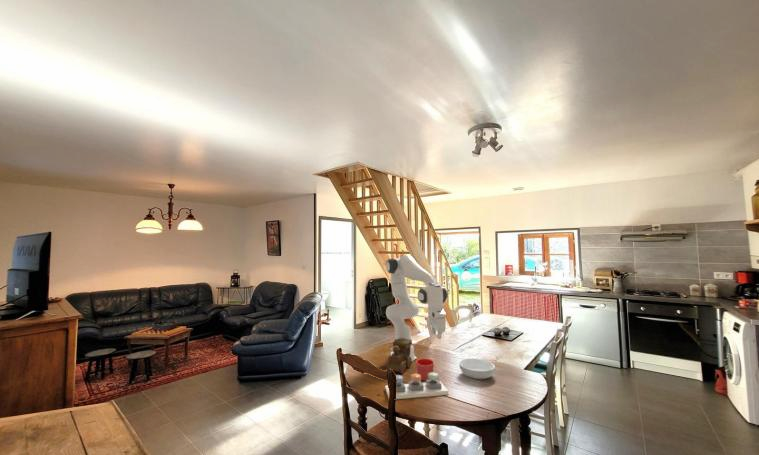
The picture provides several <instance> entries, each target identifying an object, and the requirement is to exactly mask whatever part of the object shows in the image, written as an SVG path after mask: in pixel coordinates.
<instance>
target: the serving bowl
mask: <svg viewBox="0 0 759 455" xmlns="http://www.w3.org/2000/svg"><path fill="white" fill-rule="evenodd" d="M458 365H459V366H458V367H459V369H460V371H461V373H463V375H465V376H467V377H469V378H472V379H477V380H482V379H484V380H485V379H488V378H490V377H492V376H493V375H494V373H495V369H496V366H495V364H493V363H492V362H491V361H488V360H485V359H480V358H464V359H461V360H460V361H459V362H458Z"/></svg>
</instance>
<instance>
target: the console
mask: <svg viewBox="0 0 759 455" xmlns="http://www.w3.org/2000/svg"><path fill="white" fill-rule="evenodd" d="M384 386H385V387H384V388H385V389H386V390H385V391H386V395H387V398H388V399H389V388H388V385H386V384H385V385H384ZM447 395H449V390H448V389H447V387H445V385H444V384H443V383H442V381H441V380H440V381H439V379H438V380H436V383H432V380H426V381H423V382H422V380H421V381H419V382H418V385H414V381H411V380H409V381H408V383H404V381H403V382H402V383H400V386H397V393H396V399H395V400H400V399H401V400H403V399H412V398H424V397H437V396H447Z"/></svg>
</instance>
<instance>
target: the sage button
mask: <svg viewBox="0 0 759 455" xmlns="http://www.w3.org/2000/svg"><path fill="white" fill-rule="evenodd" d="M428 378H429V379H430V380H432V383H436V380H439V373H438V372H434V371H433V372H431V373H429V374H428Z"/></svg>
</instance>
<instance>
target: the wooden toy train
mask: <svg viewBox="0 0 759 455" xmlns="http://www.w3.org/2000/svg"><path fill="white" fill-rule="evenodd" d="M411 345H412V346H413V340H412V339H411V340H409V339H397V340H395V339H394V340H393V342H392V346H394V347H392V348H393V349H392V350H393V352H394V354H392V355H391V356H389V357H390V358H389V359H387V362H386V369H387V368H391V369H393V370H394V371H393V372H396V373H397V372H398V373H400V374H402V375H403V374H404V373H405V372H406V368H407V369H409V368H411V367H412V364H413V363H412V362H413V361H412V359H411V357H410V349H411V347H410V346H411Z"/></svg>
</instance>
